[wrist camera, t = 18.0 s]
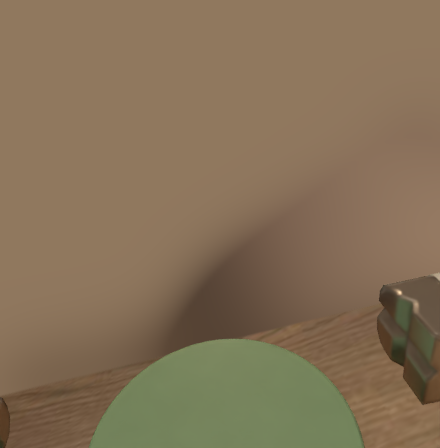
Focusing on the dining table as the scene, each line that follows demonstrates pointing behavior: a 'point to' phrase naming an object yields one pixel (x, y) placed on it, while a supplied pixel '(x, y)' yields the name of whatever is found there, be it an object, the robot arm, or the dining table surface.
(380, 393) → the dining table surface
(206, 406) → the green stacking piece
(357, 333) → the dining table surface
